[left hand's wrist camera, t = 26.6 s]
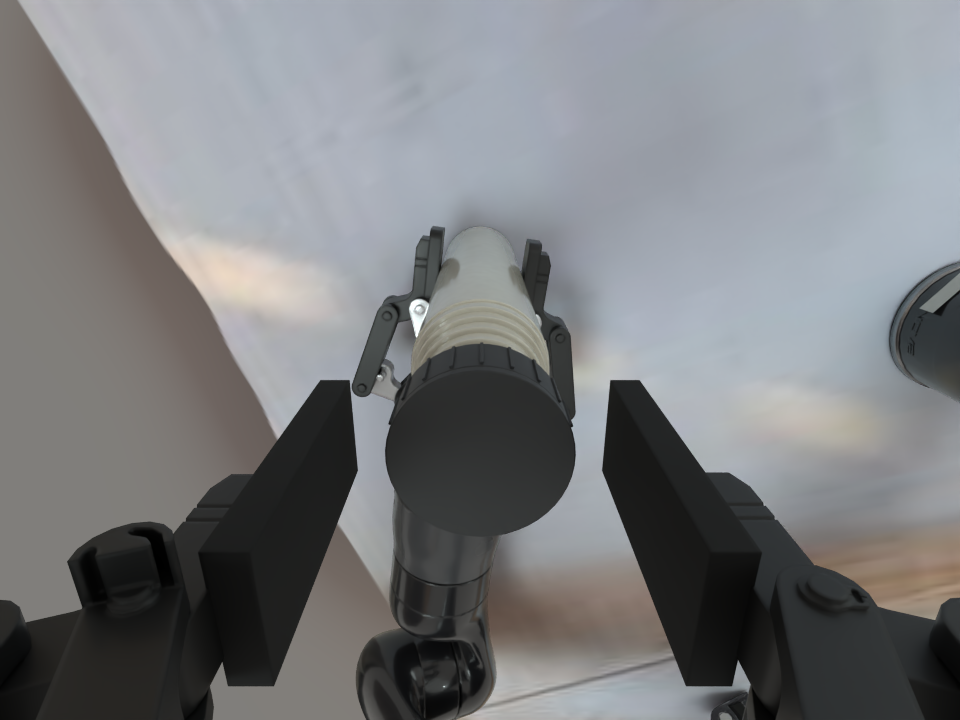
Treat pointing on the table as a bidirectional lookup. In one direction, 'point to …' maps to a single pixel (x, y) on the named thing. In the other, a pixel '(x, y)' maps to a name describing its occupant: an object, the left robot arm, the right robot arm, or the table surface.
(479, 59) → the table surface
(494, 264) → the bottle
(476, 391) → the cap
